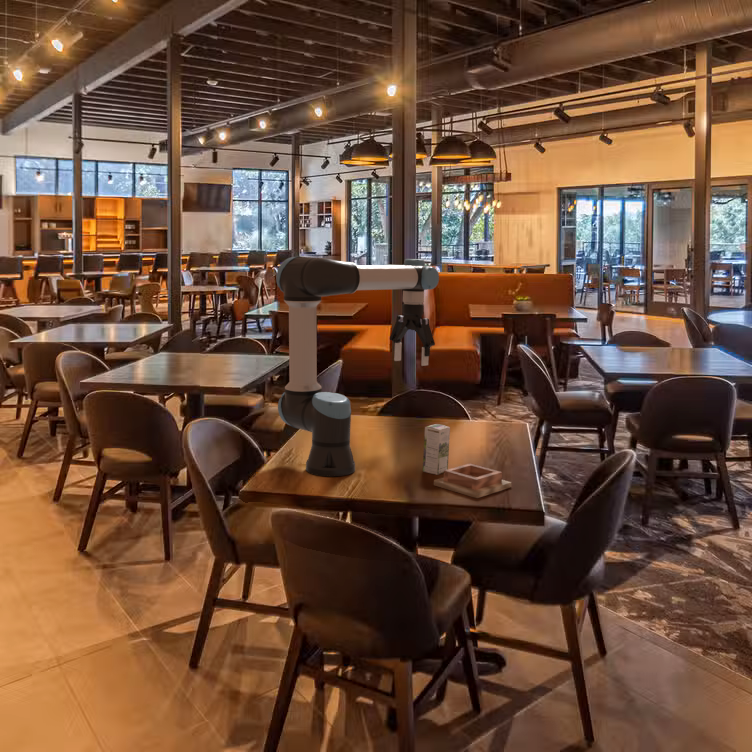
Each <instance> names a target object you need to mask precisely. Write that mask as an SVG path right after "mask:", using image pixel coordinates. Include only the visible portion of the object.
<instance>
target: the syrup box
mask: <svg viewBox="0 0 752 752" xmlns="http://www.w3.org/2000/svg"><path fill="white" fill-rule="evenodd" d="M450 435H451V427H450V426H446V425H444V424H439V423H435V424H431V425H427V426H424V439H423V457H422V458H423V459H422V461H423V462H422V472H424V473H428V474H432V475H436V476H438V475H441V474H444V470H448V469H449V455H450V453H449V452H450Z"/></svg>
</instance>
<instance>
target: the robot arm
mask: <svg viewBox="0 0 752 752" xmlns="http://www.w3.org/2000/svg"><path fill="white" fill-rule="evenodd" d="M275 275H276V277H275V278H276V279H275V281H276V284H277V287H278V288H279V290H280V291H281V292H282V293H283V302H284V303H285V304H286V305H287V306H288V342H289V343H288V345H289V347H288V348H289V349H288V355H289V357H288V358H289V359H288V360H289V368H288V369H289V370H288V371H289V374H288V375H289V382H288V383H287V384H286V385H285V386H284V392H282V394H281V397H280V398H279V400H278V403H277V411H278V415H279V418H280V419H281V420H282V422H284V423H285V424H286V425H288V426H290V427H292V428H295V429H298V430H299V429H300V430H303V431H306V432H309V433H311V447H310V448H311V449H310V451H309V454H308V457H307V460H306V462H305V471H306V472H307V473H309V474H311V475H314V476H320V477H342V476H348V475H351V474H353V473H354V472H355V471H356V463H355V460H354V456H353V453H352V448H351V422H352V419H351V417H352V408H351V400H350V399H349V398H348V397H347V396H345V395H344V394H341V393H336V392H331V391H330V392H329V391H322V388H323V387H322V385H321V384H320V383H318V380H317V379H318V378H317V376H318V375H317V374H318V373H317V371H318V370H317V369H318V368H317V366H318V365H317V363H318V362H317V361H318V359H317V354H318V352H317V351H318V350H317V347H318V346H317V341H318V340H317V337H318V336H317V307H318V305H319V304H320V303H321V302H322V297H329V296H339V295H345V294H347V295H349V294H350V295H352V294H354V293H355V292H356V291H373V290H374V291H377V290H378V291H379V290H381V291H382V290H383V291H384V290H402V303H403V304H401V305H402V306H401V308H402V309H401V310H402V311H401V313H402V315H397V316H396V322H395V324H394V326H393V329H392V331H391V333H390V336H389V340H390V341H392V342H393V352H394V356H393V357H394V358H393V361H394V362H400V361H402V348H403V347H402V344H403V343H402V339H403V338H404V336H405V335H406V334H407V332H408V331H409V330H411V331H414V332H415V333H416V334H417V335H418V338H419V340H420V341H421V343H422V347H421V364H420V365H421V367H423V366H425V367H426V366H429V357H430V356H431V347H433V346H435V345H436V342H435V339H434V336H433V335H434V334H433V333H432V330H431V327H430V318H426V317H425V318H423V315H424V308H425V307H424V306H425V305H424V304H423V303H425V291H426V290H433V289H435V288H436V287H437V286H438V285H439V281H440V278H439V277H440V275H439V271H438V270H437V268H435V267H433V266H428V265H426V262H425V260H424V259H420V258H419V259H418V258H405V259H404V261H403V264H382V265H368V264H367V265H362V264H361V265H357V264H356V263H354V262H353V261H341V260H336V259H330V258H327V257H326V258H325V257H311V256H310V257H309V256H300V255H299V256H291V257H288V258H286V259H284V261H282V263H281V264H280V265H279V267H278V269H277V271H276V274H275Z"/></svg>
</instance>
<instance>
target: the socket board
mask: <svg viewBox="0 0 752 752" xmlns="http://www.w3.org/2000/svg"><path fill="white" fill-rule="evenodd" d="M433 486H434V487H435V486H436V487H439V488H442V489H445V490H449V491H452V492H455V493H457V494H461V495H465V496H468V497H471V498H475V499H479V498H482V497H485V496H488V495H492V494H495V493H498V492H501V491H504V490H507V489H510V488H512V481H508V480H505V479H503V472H502V471H500V470H496V469H493V468H488V467H486V466H485V467H484V466H481V465H477V464H473V463H466V464H462V465H459V466H455V467H453V468H452V467H451V468H448V470H444V473H443V477H440V478H436V479H434V480H433Z"/></svg>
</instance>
